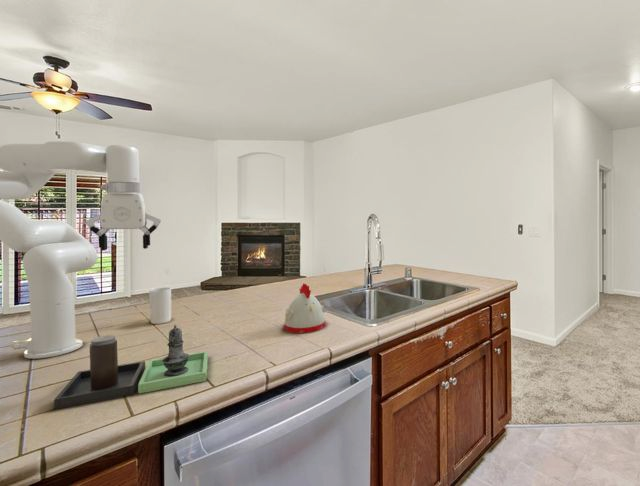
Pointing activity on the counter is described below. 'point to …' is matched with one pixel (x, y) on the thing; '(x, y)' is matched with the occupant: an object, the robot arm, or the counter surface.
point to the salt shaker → (175, 354)
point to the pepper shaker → (103, 362)
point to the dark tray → (82, 393)
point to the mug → (160, 305)
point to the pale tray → (157, 380)
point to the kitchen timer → (304, 313)
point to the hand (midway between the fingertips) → (125, 249)
